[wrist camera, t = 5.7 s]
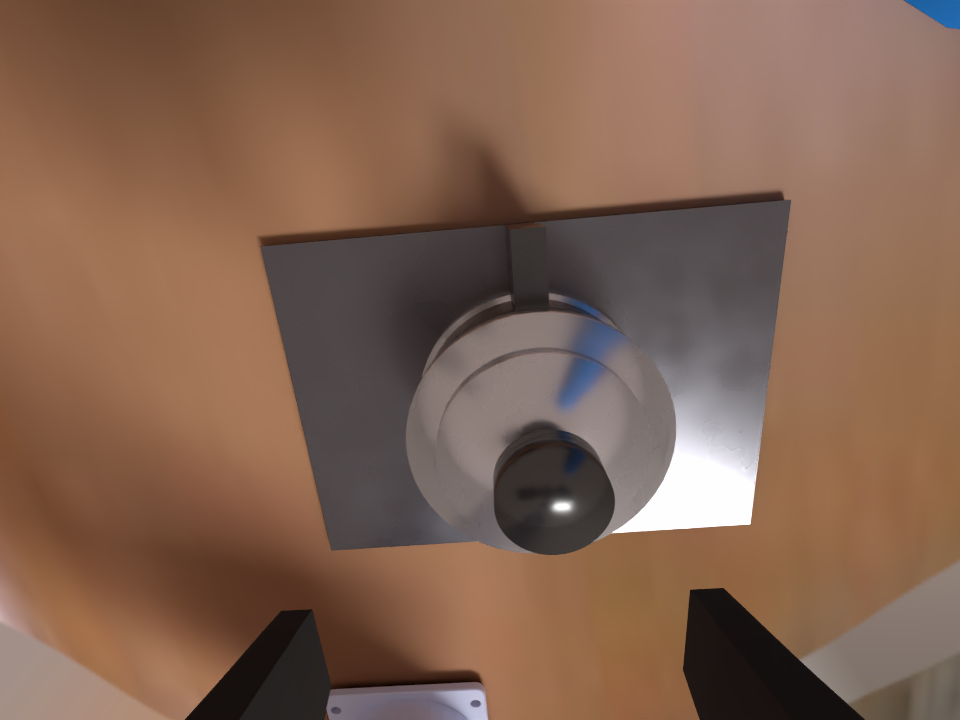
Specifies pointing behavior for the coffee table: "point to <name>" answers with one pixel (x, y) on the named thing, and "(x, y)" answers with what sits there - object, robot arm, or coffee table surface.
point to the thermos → (940, 11)
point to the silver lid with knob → (543, 448)
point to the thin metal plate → (532, 324)
